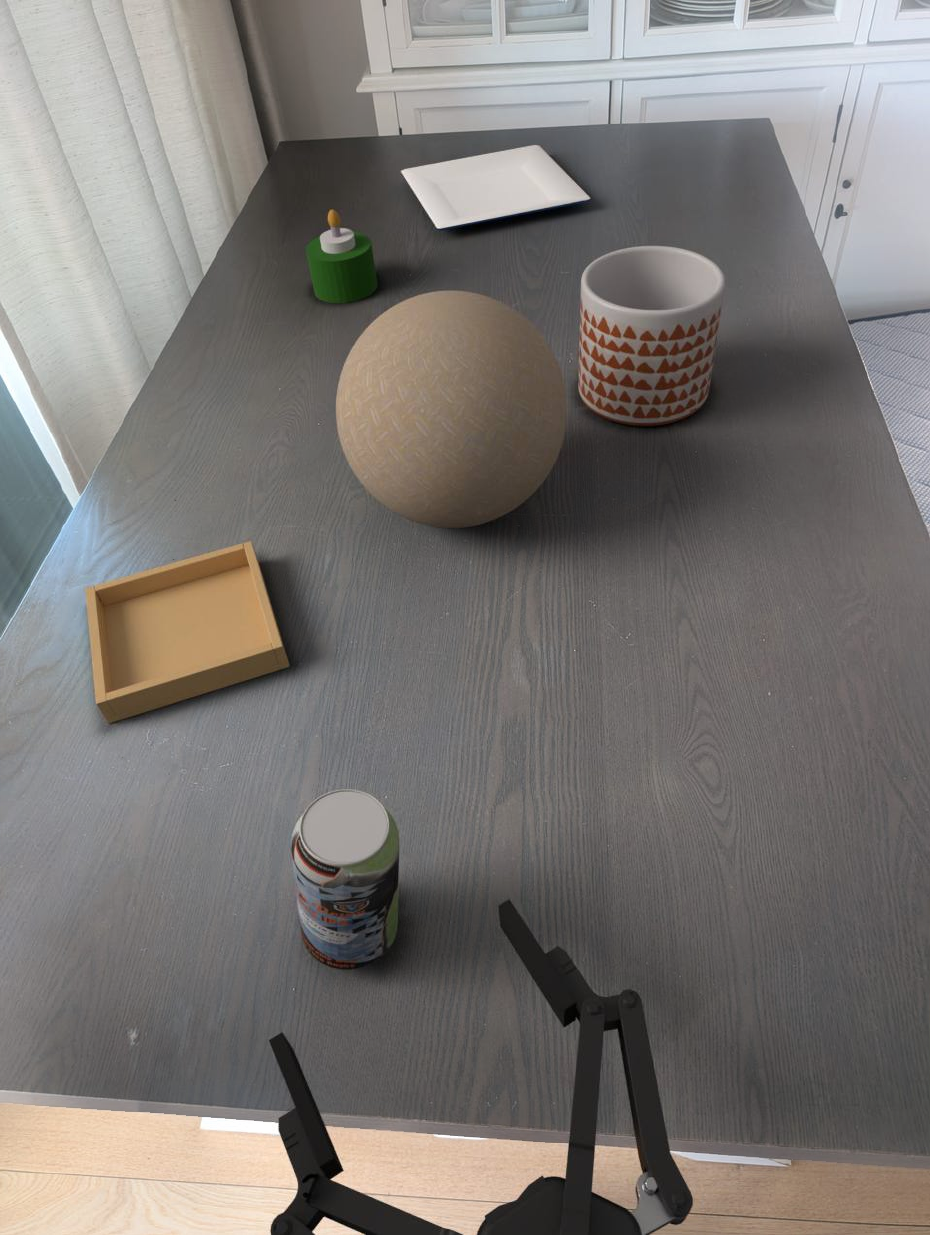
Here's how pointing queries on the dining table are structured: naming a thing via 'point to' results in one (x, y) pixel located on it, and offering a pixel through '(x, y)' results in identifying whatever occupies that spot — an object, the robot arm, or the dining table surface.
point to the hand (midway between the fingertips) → (397, 975)
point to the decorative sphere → (451, 409)
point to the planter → (648, 333)
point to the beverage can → (346, 878)
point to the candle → (341, 264)
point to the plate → (492, 187)
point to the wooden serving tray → (181, 631)
